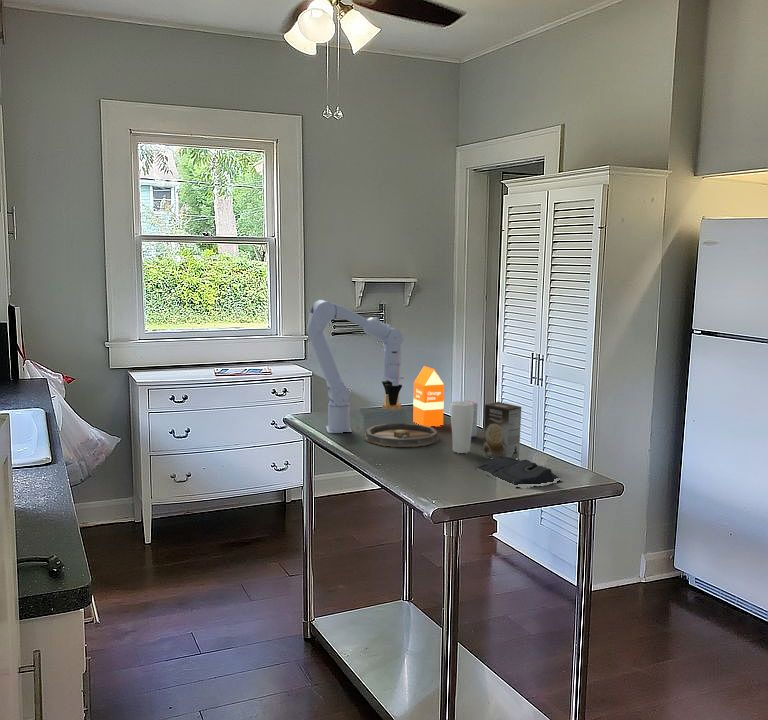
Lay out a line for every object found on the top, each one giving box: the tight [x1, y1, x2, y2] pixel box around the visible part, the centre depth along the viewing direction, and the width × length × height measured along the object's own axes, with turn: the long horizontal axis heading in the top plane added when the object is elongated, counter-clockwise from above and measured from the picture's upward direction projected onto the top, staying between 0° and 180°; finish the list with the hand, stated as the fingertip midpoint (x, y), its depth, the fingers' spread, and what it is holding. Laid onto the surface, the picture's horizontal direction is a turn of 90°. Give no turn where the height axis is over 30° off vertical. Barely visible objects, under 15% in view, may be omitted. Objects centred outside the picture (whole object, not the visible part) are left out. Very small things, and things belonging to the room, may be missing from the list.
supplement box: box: [465, 400, 478, 439], centre depth 255 cm, size 6×6×12 cm
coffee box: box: [482, 401, 522, 459], centre depth 228 cm, size 9×6×16 cm
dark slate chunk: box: [476, 456, 560, 485], centre depth 212 cm, size 15×22×5 cm
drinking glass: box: [450, 400, 474, 454], centre depth 235 cm, size 7×7×15 cm
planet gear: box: [381, 393, 402, 411], centre depth 266 cm, size 6×6×4 cm
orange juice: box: [412, 365, 445, 428], centre depth 273 cm, size 8×9×20 cm
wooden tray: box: [363, 422, 440, 448], centre depth 253 cm, size 24×24×3 cm
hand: (391, 403), depth 266 cm, fingers closed on planet gear, 4 cm apart
